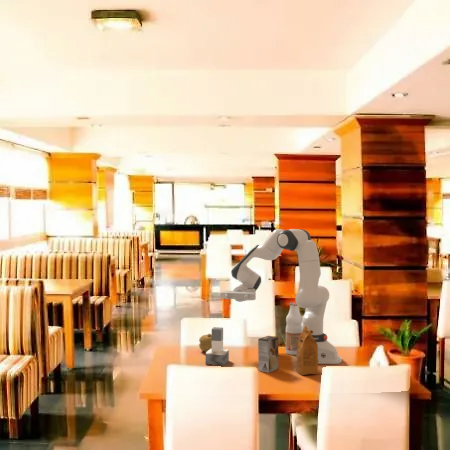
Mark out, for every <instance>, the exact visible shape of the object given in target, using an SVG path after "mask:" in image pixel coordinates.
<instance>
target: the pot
mask: <svg viewBox="0 0 450 450" xmlns="http://www.w3.org/2000/svg"><path fill="white" fill-rule="evenodd" d="M198 340H199V341H198V342H199V344H198V346H199V349H200V350H201V351H202V352H204V353H206V352H207V351H208V350H209V349H210V348H211V349H212V333H208V334H204V335H201V336H200V337H199V339H198Z"/></svg>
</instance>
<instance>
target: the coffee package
mask: <svg viewBox="0 0 450 450" xmlns="http://www.w3.org/2000/svg"><path fill="white" fill-rule="evenodd" d="M311 333H313V331H312V330H308V328H307V327H306V326H304V328H303V331H302V333H301V335H300V338H299V341H298V347H297V354H296V355H295V356H296V363H295V365H296V366H295V367H296V372H297V373H298V374H299V375H301V376H307V375H315V374H318V367H319V364H318V345H317V343H316V341H315V340H314V338H313V336H312V334H311Z"/></svg>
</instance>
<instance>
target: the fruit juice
mask: <svg viewBox="0 0 450 450" xmlns="http://www.w3.org/2000/svg"><path fill="white" fill-rule="evenodd" d="M302 318H303V316H302V315H301V312H300V309H299V306H298V305H297V303H296V302H290V303H289V310H288V314H287V315H286V318H285V322H286V326H285V354H287V355H290V356H292V355H293V356H296V354H297V347H298V341H299V338H300V335H301V333H302Z"/></svg>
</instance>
